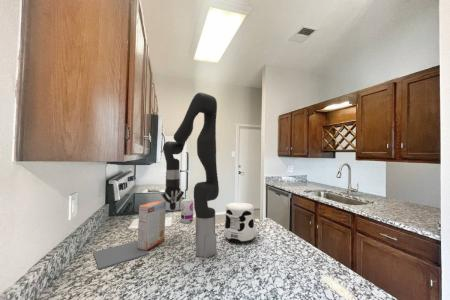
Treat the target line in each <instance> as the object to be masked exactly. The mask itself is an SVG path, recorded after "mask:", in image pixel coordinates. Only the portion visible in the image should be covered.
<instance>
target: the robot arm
mask: <svg viewBox="0 0 450 300" xmlns="http://www.w3.org/2000/svg"><path fill="white" fill-rule="evenodd" d="M217 112H218V102H217V99H216V97H214V96H213V95H210V94H207V93H205V92H197V93H196V94H195V95H194V96H193V98H192V100H191V101H190V103H189V107H188V108H187V111H186V113H185V115H184V118H183V120H182V121H181V124H180V125H179V127H178V128H177V130H176V131H175V133H174V134H173V140H174V141H165V143H164V144H163V147H162V151H163V155H164V159H165V162H166V165H165V168H166V169H165V189H164V192H163V193H162V192H161V194H160V196H161V197H162V199H164V201H165V202H166V203H167V204H169V209H170V210H171V211H174V210H176V209H177V202H180V200H181V198H182V197H183V195H184V194H185V192H184V191H182V190H181V187H180V186H181V173H180V171H181V170H180V159H178V158H175V156H174V155H180V154H181V153H182V152H183V150H184V149H185V148H184V147H185V145H186V142H187V140H188V139H190V136H191V135H192V132H193V129H194V123H195V122H194V121H195V118H196V117H197V116H198V115H199V113H200V114H203V125H202V128H201V130H200V132H199V134H198V136H197V139H196V153H197V157H198V159H199V161H200V163H201V165H202V167H203V169H204V172H205V181H200V182H196V184H195V185H194V187H193V210H194V212H195V255H196V256H198V257H199V258H200V257H201V258H204V259H207V258H210V257H213V256H215V255H217V233H216V210H215V208H213V207H209V201H214V200H216V199H217V198H218V197H219V193H220V187H219V185H220V184H219V179H218V169H217V137H216V136H217V133H216V132H217V131H216V130H217V128H216V127H217V126H216V125H217V114H218V113H217Z"/></svg>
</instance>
